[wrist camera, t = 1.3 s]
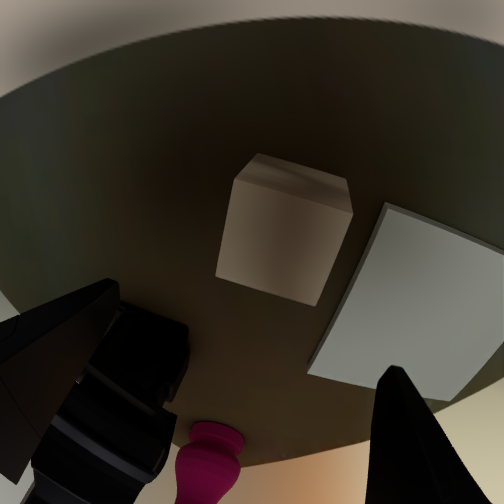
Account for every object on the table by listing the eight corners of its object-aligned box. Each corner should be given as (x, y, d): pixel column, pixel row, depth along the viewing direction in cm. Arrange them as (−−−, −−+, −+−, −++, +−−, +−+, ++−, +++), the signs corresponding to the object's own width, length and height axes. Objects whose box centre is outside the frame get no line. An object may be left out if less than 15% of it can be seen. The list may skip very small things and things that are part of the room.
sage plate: (308, 363, 24) (307, 373, 23) (384, 201, 17) (388, 208, 16) (448, 392, 23) (449, 401, 22) (541, 269, 16) (547, 276, 15)
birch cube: (239, 230, 20) (215, 276, 16) (257, 152, 17) (234, 178, 13) (319, 254, 19) (315, 306, 15) (346, 178, 17) (353, 214, 13)
